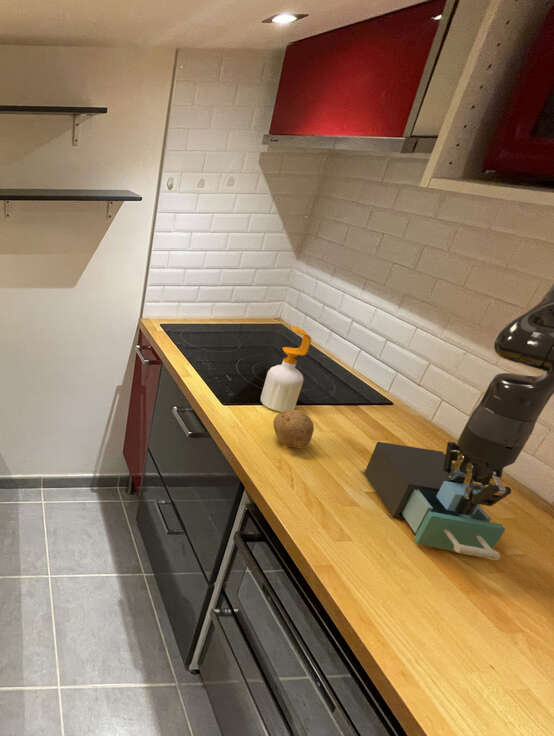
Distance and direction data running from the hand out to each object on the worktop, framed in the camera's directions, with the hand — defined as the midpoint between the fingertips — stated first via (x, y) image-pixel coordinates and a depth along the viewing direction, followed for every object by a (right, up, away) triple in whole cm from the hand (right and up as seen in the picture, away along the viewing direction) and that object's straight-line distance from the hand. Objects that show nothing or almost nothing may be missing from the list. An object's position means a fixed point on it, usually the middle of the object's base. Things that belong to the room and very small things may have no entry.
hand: (455, 504), depth 85 cm
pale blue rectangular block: (0, 0, 0) cm, 0 cm away
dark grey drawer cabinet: (+2, -4, +13) cm, 13 cm away
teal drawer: (0, -7, +3) cm, 8 cm away
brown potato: (-14, +4, +30) cm, 33 cm away
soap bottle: (-7, +12, +47) cm, 49 cm away
